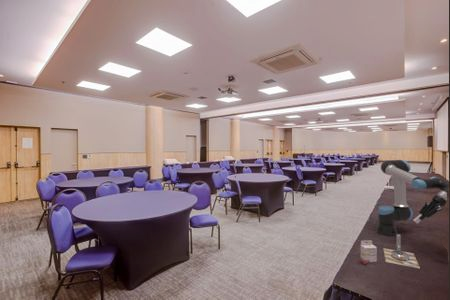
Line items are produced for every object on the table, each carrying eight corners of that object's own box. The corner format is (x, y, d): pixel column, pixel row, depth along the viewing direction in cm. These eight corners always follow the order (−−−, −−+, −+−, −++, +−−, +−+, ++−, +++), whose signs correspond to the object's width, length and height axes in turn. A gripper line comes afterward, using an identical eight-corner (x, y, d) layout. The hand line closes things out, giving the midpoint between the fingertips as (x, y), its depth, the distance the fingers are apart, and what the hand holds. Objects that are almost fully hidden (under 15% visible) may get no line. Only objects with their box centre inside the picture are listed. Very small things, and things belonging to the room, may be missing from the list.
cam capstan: (390, 250, 171) (389, 232, 170) (407, 253, 166) (407, 235, 165) (392, 260, 156) (392, 241, 156) (411, 264, 151) (411, 244, 151)
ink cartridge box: (365, 264, 156) (364, 243, 156) (360, 261, 161) (360, 240, 161) (377, 264, 157) (377, 242, 156) (372, 260, 161) (372, 239, 161)
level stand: (383, 250, 175) (383, 247, 175) (413, 255, 166) (413, 252, 166) (386, 263, 156) (385, 261, 156) (420, 270, 147) (420, 267, 147)
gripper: (453, 205, 154) (425, 229, 157) (439, 200, 167) (413, 222, 170) (444, 197, 155) (416, 221, 158) (430, 193, 168) (405, 215, 171)
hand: (415, 221), depth 164 cm, fingers closed
